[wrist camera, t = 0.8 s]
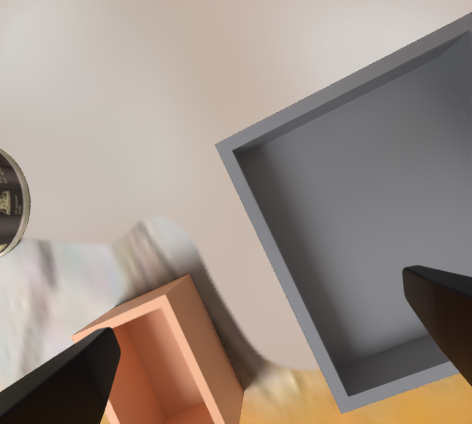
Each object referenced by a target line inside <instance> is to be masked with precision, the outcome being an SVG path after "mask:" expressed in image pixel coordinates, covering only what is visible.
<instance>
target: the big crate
mask: <svg viewBox="0 0 472 424" xmlns="http://www.w3.org/2000/svg"><path fill="white" fill-rule="evenodd" d="M215 146H216V148H217V150H218V152H219V155H220V157H221V159H222V161H223V163H224V165H225V167H226V169H227V172H228V174H229V176H230V178H231V180H232V182H233V184H234V187H235V189H236V191H237V193H238V195H239V197H240V199H241V201H242V203H243V206H244V208H245V210H246V212H247V214H248V216H249V218H250V221H251V222H252V225H253V227H254V229H255V231H256V233H257V235H258V238H259V240H260V242H261V244H262V246H263V248H264V250H265V252H266V255H267V257H268V259H269V261H270V263H271V265H272V267H273V269H274V271H275V274H276V276H277V278H278V280H279V282H280V284H281V286H282V288H283V291H284V293H285V295H286V297H287V299H288V301H289V303H290V306H291V308H292V310H293V312H294V314H295V316H296V318H297V320H298V322H299V324H300V327H301V329H302V331H303V333H304V335H305V337H306V339H307V342H308V344H309V346H310V348H311V350H312V352H313V354H314V357H315V359H316V361H317V363H318V365H319V367H320V369H321V371H322V374H323V376H324V378H325V380H326V382H327V384H328V386H329V388H330V391H331V393H332V395H333V397H334V399H335V401H336V403H337V405H338V408H339V410H340V412H341V414H342V413H345V412H348V411H351V410H354V409H357V408H360V407H362V406H365V405H368V404H371V403H374V402H377V401H380V400H383V399H386V398H388V397H391V396H394V395H397V394H400V393H403V392H406V391H409V390H411V389H414V388H417V387H420V386H423V385H426V384H429V383H432V382H435V381H437V380H440V379H443V378H446V377H449V376H452V375H455V374H458V373H460V372H459V371H458V370H457V369H456V367H455V366H454V365H453V364H452V363H451V361H450V360H449V359H448V358H447V357H446V355H445V354H444V353H443V352H442V351H441V349H440V348H439V347H438V345H437V344H436V343H435V341H434V340H433V339H432V337H431V336H430V334H429V333H428V331H427V330H426V328H425V327H424V325H423V324H422V322H421V321H420V319H419V318H418V317H417V315H416V314H415V312H414V311H413V309H412V308H411V306H410V305H409V303H408V302H407V300H406V298H405V295H404V288H403V278H402V270H403V268H405V267H409V266H414V265H421V266H425V267H430V268H434V269H438V270H443V271H447V272H452V273H456V274H461V275H465V276H470V277H472V12H471V13H469V14H467V15H465V16H464V17H462V18H460V19H458V20H456V21H454V22H452V23H450V24H448V25H446V26H444V27H442V28H440V29H438V30H436V31H435V32H433V33H431V34H429V35H427V36H425V37H423V38H421V39H419V40H417V41H415V42H413V43H411V44H409V45H407V46H405V47H403V48H401V49H399V50H398V51H396V52H394V53H392V54H390V55H388V56H386V57H384V58H382V59H380V60H378V61H376V62H374V63H372V64H370V65H369V66H367V67H364V68H363V69H361V70H359V71H357V72H355V73H353V74H351V75H349V76H347V77H345V78H343V79H341V80H339V81H337V82H335V83H333V84H331V85H330V86H328V87H326V88H324V89H322V90H320V91H318V92H316V93H314V94H312V95H310V96H308V97H306V98H304V99H302V100H300V101H298V102H297V103H295V104H293V105H291V106H289V107H287V108H285V109H283V110H281V111H279V112H277V113H275V114H273V115H272V116H270V117H267V118H265V119H263V120H262V121H260V122H258V123H256V124H254V125H252V126H250V127H248V128H246V129H244V130H242V131H240V132H238V133H236V134H234V135H232V136H231V137H229V138H227V139H225V140H223V141H221V142H219V143H217V144H215Z"/></svg>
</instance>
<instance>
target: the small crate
mask: <svg viewBox="0 0 472 424" xmlns="http://www.w3.org/2000/svg"><path fill="white" fill-rule="evenodd" d="M104 327H111V328H112V329H113V331H114V333H115V335H116V338H117V341H118V343H119V346H120V349H121V357H120V361H119V364H118V368H117V371H116V375H115V378H114V382H113V385H112V389H111V393H110V396H109V399H108V403H107V406H106V409H105V413H106V415H107V417H108V419H109V421H110V424H239V421H240V415H241V408H242V402H243V396H244V390H243V388H242V386H241V383H240V381H239V379H238V377H237V375H236V373H235V371H234V368H233V366H232V364H231V362H230V360H229V358H228V355H227V353H226V351H225V349H224V347H223V345H222V343H221V340H220V338H219V336H218V334H217V332H216V330H215V327H214V325H213V323H212V321H211V319H210V317H209V315H208V312H207V310H206V308H205V306H204V304H203V302H202V299H201V297H200V295H199V293H198V291H197V289H196V287H195V284H194V282H193V280H192V278H191V276H190V274H187V275H185V276H183V277H181V278H178V279H176V280H174V281H172V282H170V283H167V284H165V285H163V286H161V287H158V288H156V289H154V290H152V291H150V292H147V293H145V294H143V295H141V296H139V297H136V298H134V299H132V300H130V301H128V302H125V303H123V304H121V305H119V306H116V307H114V308H113V309H111V310H110V311H108V312H107V313H105V314H104V315H102V316H101V317H99V318H98V319H96V320H95V321H93V322H92V323H90V324H89V325H87V326H86V327H84V328H83V329H81V330H80V331H78V332H77V333H75V334H74V335H72V336H71V337H72V340H73V342H74V344H75V343H77V342H78V341H80V340H81V339H83V338H84V337H86V336H87V335H89V334H90V333H92V332H93V331H95V330H97V329H99V328H104Z"/></svg>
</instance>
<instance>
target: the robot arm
mask: <svg viewBox="0 0 472 424" xmlns="http://www.w3.org/2000/svg"><path fill="white" fill-rule="evenodd" d="M402 278H403V288H404V295H405V298H406V300H407V302H408V303H409V305H410V306H411V308H412V309H413V311H414V312H415V314H416V315H417V317H418V318H419V319H420V321H421V322H422V324H423V325H424V327H425V328H426V330H427V331H428V333H429V334H430V336H431V337H432V339H433V340H434V341H435V343H436V344H437V345H438V347H439V348H440V349H441V351H442V352H443V353H444V354H445V355H446V357H447V358H448V359H449V360H450V361H451V363H452V364H453V365H454V366H455V367H456V369H457V370H458V371H459V372H460V373H461V374H462V376H463V377H464V378H465V379H466V380H467V382H468V383H469V384H470V385H471V386H472V277H470V276H465V275H461V274H456V273H452V272H447V271H443V270H438V269H434V268H430V267H425V266H421V265H414V266H409V267H405V268H403V270H402ZM120 357H121V349H120V346H119V343H118V341H117V338H116V335H115V333H114V331H113V329H112V328H111V327H104V328H99V329H97V330H95V331H93V332H92V333H90V334H89V335H87V336H86V337H84V338H83V339H81V340H80V341H78V342H77V343H75V344H73V345H72V346H70V347H69V348H67V349H66V350H64V351H63V352H61V353H60V354H58V355H57V356H55V357H53V358H52V359H50V360H49V361H47V362H46V363H44V364H43V365H41V366H40V367H38V368H37V369H35V370H33V371H32V372H30V373H29V374H27V375H26V376H24V377H23V378H21V379H20V380H18V381H17V382H15V383H13V384H12V385H10V386H9V387H7V388H6V389H4V390H3V391H1V392H0V424H100V422H101V420H102V417H103V414H104V411H105V409H106V406H107V403H108V399H109V396H110V393H111V389H112V385H113V382H114V378H115V375H116V371H117V368H118V364H119V361H120Z"/></svg>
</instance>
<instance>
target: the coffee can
mask: <svg viewBox="0 0 472 424" xmlns="http://www.w3.org/2000/svg"><path fill="white" fill-rule="evenodd" d="M30 202H31V201H30V194H29V188H28V184H27V181H26V179H25V176H24V174H23V172H22V171H21V169H20V167H19V166H18V165H17V163H16V162H15V161H14V159H12V157H11V156H9V155H8V154H7V153H6V152H4V151H3V150H1V149H0V257H1V256H3V255H5V254H6V253H7V252H9V251H10V250H11V249H12V248H13V247H14V246H15V245H16V244H17V243H18V242H19V240H20V238H21V237H22V235H23V234H24V231H25V229H26V227H27V224H28V220H29V215H30Z"/></svg>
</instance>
